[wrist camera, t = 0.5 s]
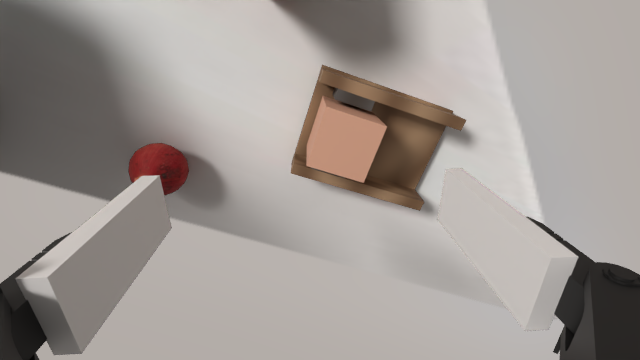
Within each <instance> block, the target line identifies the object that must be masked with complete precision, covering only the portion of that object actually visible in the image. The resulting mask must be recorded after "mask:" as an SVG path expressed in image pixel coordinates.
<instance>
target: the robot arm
mask: <svg viewBox="0 0 640 360" xmlns="http://www.w3.org/2000/svg"><path fill="white" fill-rule="evenodd" d="M437 220H438V221H439V222H440V224H441V225H442V226H443V228H444V229H445V230H446V231H447V233H448V234H449V235H450V236H451V238H452V239H453V240H454V242H455V243H456V244H457V245H458V247H459V248H460V249H461V250H462V252H463V253H464V254H465V256H466V257H467V258H468V259H469V261H470V262H471V263H472V264H473V266H474V267H475V268H476V270H477V271H478V272H479V273H480V275H481V276H482V277H483V278H484V280H485V281H486V282H487V284H488V285H489V286H490V287H491V289H492V290H493V291H494V293H495V294H496V295H497V296H498V298H499V299H500V300H501V301H502V303H503V304H504V305H505V307H506V308H507V309H508V310H509V312H510V313H511V314H512V315H513V317H514V318H515V319H516V321H517V322H518V323H519V324H520V326H521V327H522V328H523V329H524V331H536V330H548V329H549V328H550V325H551V323H552V321H553V318H554V316H555V315H556V316H557V317H558V318H559V319H560V320H561V321H562V322H563V323H564V324H565V326H564V328H563V330H562V333H561V335H560V337H559V340H558V342H557V344H556V346H555V349H554V351H553V352H554V353H557V354H558V352H559V350H560V360H640V275H639V274H637V273H635V272H633V271H632V270H630V269H627V268H624V267H621V266H619V265H615V264H610V263H600V262H597V263H595V262H594V261H593V260H591V259H590V258H589V257H587V256H586V255H584V254H583V253H582V252H580V251H579V250H578V249H576V248H575V247H574V246H572V245H571V244H569V243H568V242H567V241H564V240H563V238H561V237H560V236H559V235H557V234H554V232H553V231H552V230H550V229H549V228H548V227H546V226H545V225H544V224H542V223H540V222H538V221H536V220H534V219H531V218H529V217H525V216H524V215H523V214H521V213H520V212H519V211H517V210H516V209H515V208H514V207H512V206H511V205H510V204H508V203H507V202H506V201H504V200H503V199H502V198H500V197H499V196H498V195H496V194H495V193H494V192H492V191H491V190H490V189H489V188H487V187H486V186H485V185H483V184H482V183H481V182H479V181H478V180H477V179H475V178H474V177H473V176H471V175H470V174H469V173H467V172H466V171H465V170H463V169H462V168H454V169H446V172H445V177H444V183H443V189H442V195H441V201H440V206H439V212H438V218H437ZM171 228H172V227H171V223H170V219H169V214H168V210H167V205H166V201H165V197H164V192H163V188H162V184H161V179H160V175H155V176H141V177H140V178H139V179H138V180H136V181H135V182H134V183H133V184H131V185H130V186H129V187H128V188H126V189H125V190H124V191H123V192H121V193H120V194H119V195H118V196H117V197H115V198H114V199H113V200H112V201H110V202H109V203H108V204H107V205H105V206H104V207H103V208H102V209H101V210H99V211H98V212H97V213H96V214H94V215H93V216H92V217H91V218H89V219H88V220H87V221H86V222H85V223H84V224H82V225H81V226H80V227H78V228H77V229H76V230H75V231H73V232H71V233H69V234H67V235H65V236H63V237H61V238H60V239H57V240H55V241H54V242H53V243H52V244H50V245H49V246H48V247H46V248H45V249H44V250H43V251H42V253H39V254H38V255H36V256H35V257H34V258H32V261H29V262H27V263H26V264H25V265H23V266H22V267H21V268H20V269H18V270H17V271H16V272H15V273H13V274H12V275H11V276H9V278H7V279H6V280H4V281H3V282H2V283H1V284H0V360H39V358H38V356H37V354H36V351H37V350H38V349H39V348H40V346H42V345H43V343H44V342H45V341H47V342H48V344H49V346H50V348H51V350H52V352H53V354H54V355H63V354H64V355H65V354H82V353H83V351H84V350H85V348H86V347H87V345H88V344H89V343H90V341H91V340H92V339H93V337H94V336H95V334H96V333H97V332H98V330H99V329H100V327H101V326H102V325H103V323H104V322H105V320H106V319H107V317H108V316H109V315H110V313H111V312H112V311H113V309H114V308H115V306H116V305H117V304H118V302H119V301H120V299H121V298H122V296H123V295H124V294H125V292H126V291H127V290H128V288H129V287H130V286H131V284H132V283H133V281H134V280H135V279H136V277H137V276H138V274H139V273H140V271H141V270H142V269H143V267H144V266H145V264H146V263H147V262H148V260H149V259H150V257H151V256H152V255H153V253H154V252H155V251H156V249H157V248H158V246H159V245H160V243H161V242H162V241H163V239H164V238H165V237H166V235H167V234H168V232H169V231H170V229H171Z"/></svg>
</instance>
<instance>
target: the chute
mask: <svg viewBox="0 0 640 360" xmlns="http://www.w3.org/2000/svg"><path fill="white" fill-rule="evenodd" d="M323 96H325V97H328V98H331V99H334V100H337V101H340V102H343V103H346V104H349V105H352V106H355V107H358V108H361V109H364V110H367V111H370V112H373V113H374V114H375V115H376V116H377V117H378V118H379V119H380V120H381V121H382V122H383V123H384V124H385V125H386V126H387V128H386V131H385V133H384V135H383V138H382V140H381V143H380V145H379V147H378V150H377V152H376V155H375V157H374V159H373V162H372V164H371V166H370V169H369V171H368V174H367V176H366V178H365V181H364V183H362V182H359V181H355V180H352V179H349V178H345V177H342V176H338V175H335V174H332V173H328V172H325V171H322V170H318V169H315V168H311V167H308V166H306V162H307V143H308V140H309V137H310V134H311V130H312V127H313V124H314V121H315V118H316V115H317V112H318V109H319V106H320V103H321V100H322V97H323ZM452 113H453V111H452V110H449V109H446V108H443V107H441V106H438V105H435V104H432V103H429V102H426V101H424V100H421V99H418V98H415V97H412V96H409V95H407V94H404V93H401V92H398V91H395V90H392V89H390V88H387V87H384V86H381V85H378V84H375V83H373V82H370V81H367V80H364V79H361V78H358V77H356V76H353V75H350V74H347V73H344V72H341V71H339V70H336V69H333V68H330V67H327V66H324V65H322V68H321V71H320V74H319V77H318V80H317V84H316V87H315V90H314V93H313V96H312V99H311V103H310V106H309V109H308V112H307V115H306V119H305V122H304V125H303V128H302V131H301V135H300V138H299V141H298V144H297V147H296V151H295V154H294V157H293V160H292V168H291V173H292V174H295V175H299V176H302V177H306V178H309V179H313V180H316V181H319V182H323V183H326V184H330V185H333V186H337V187H340V188H344V189H347V190H350V191H354V192H357V193H361V194H364V195H368V196H371V197H375V198H378V199H381V200H385V201H388V202H392V203H395V204H399V205H402V206H406V207H409V208H412V209H416V210H419V211H420V209H421V207H422V205H423V203H424V201H423V200H422V198H421V197H420V196H419V195H418V193H417V192H416V191H415V188H416V186H417V184H418V182H419V180H420V178H421V176H422V174H423V172H424V170H425V168H426V166H427V164H428V162H429V160H430V158H431V156H432V153H433V151H434V149H435V147H436V145H437V143H438V141H439V139H440V137H441V135H442V133H443V131H444V129H445V127H446V126H449V127H452V128H454V129H457V130H460V131H461V130H462V128H463V126H464V124H465V122H466V120H465V119H463V118H461V117H458V116H456V115H454V114H452Z"/></svg>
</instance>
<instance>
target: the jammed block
mask: <svg viewBox="0 0 640 360" xmlns="http://www.w3.org/2000/svg"><path fill="white" fill-rule="evenodd" d="M386 128H387V126H386V125H385V124H384V123H383V122H382V121H381V120H380V119H379V118H378V117H377V116H376V115H375V114H374V113H373V112H370V111H367V110H364V109H361V108H358V107H355V106H352V105H349V104H346V103H343V102H340V101H337V100H334V99H331V98H328V97H325V96H323V97H322V100H321V103H320V106H319V109H318V112H317V115H316V118H315V121H314V124H313V127H312V130H311V134H310V137H309V140H308V143H307V162H306V166H308V167H311V168H315V169H318V170H322V171H325V172H328V173H332V174H335V175H338V176H342V177H345V178H349V179H352V180H355V181H359V182H362V183H364V181H365V178H366V176H367V174H368V171H369V169H370V166H371V164H372V162H373V159H374V157H375V155H376V152H377V150H378V147H379V145H380V143H381V140H382V138H383V135H384V133H385V131H386Z"/></svg>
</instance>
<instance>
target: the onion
mask: <svg viewBox="0 0 640 360" xmlns="http://www.w3.org/2000/svg"><path fill="white" fill-rule="evenodd" d="M188 172H189V168H188V163H187V160H186V158H185V157H184V156H183V154H182V153H181V152H180V151H179V150H177V149H175V148H174V147H172V146H170V145H166V144H163V143H156V144H149V145H146V146H144V147H142V148H140V149H138V150H137V151H136V152H135V153H134V155H133V156H132V158H131V159H130V162H129V175H130V179H131V181H132V182H133V183H134V182H135V181H136V180H138V179H139V178H140V177H141V176H155V175H160V179H161V184H162V188H163V192H164V195H167V194H170V193H173V192H175V191H176V190H178V189H179V188H180V187H181V186H182V185H183V184H184V183H185V181H186V178H187V175H188Z"/></svg>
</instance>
